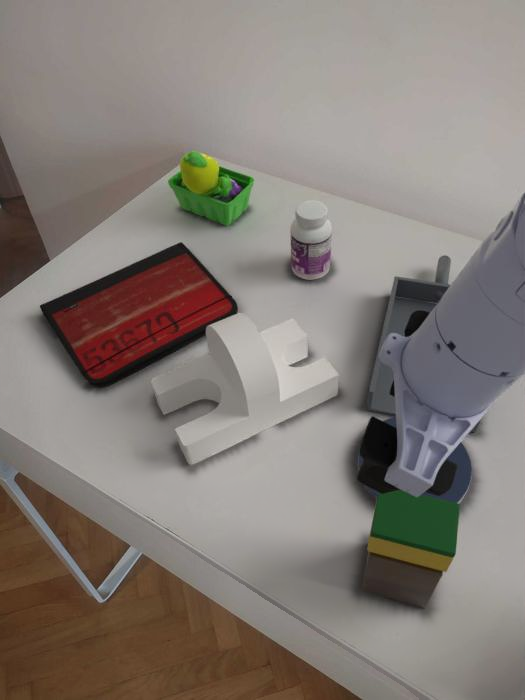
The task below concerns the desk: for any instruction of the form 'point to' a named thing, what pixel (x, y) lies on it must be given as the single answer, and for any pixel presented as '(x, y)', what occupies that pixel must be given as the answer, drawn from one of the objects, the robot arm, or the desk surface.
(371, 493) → the plate
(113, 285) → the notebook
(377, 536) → the sponge
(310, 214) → the pill bottle
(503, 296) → the robot arm
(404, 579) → the brown wooden block
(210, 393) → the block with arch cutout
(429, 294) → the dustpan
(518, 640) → the desk surface
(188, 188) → the fruit basket
